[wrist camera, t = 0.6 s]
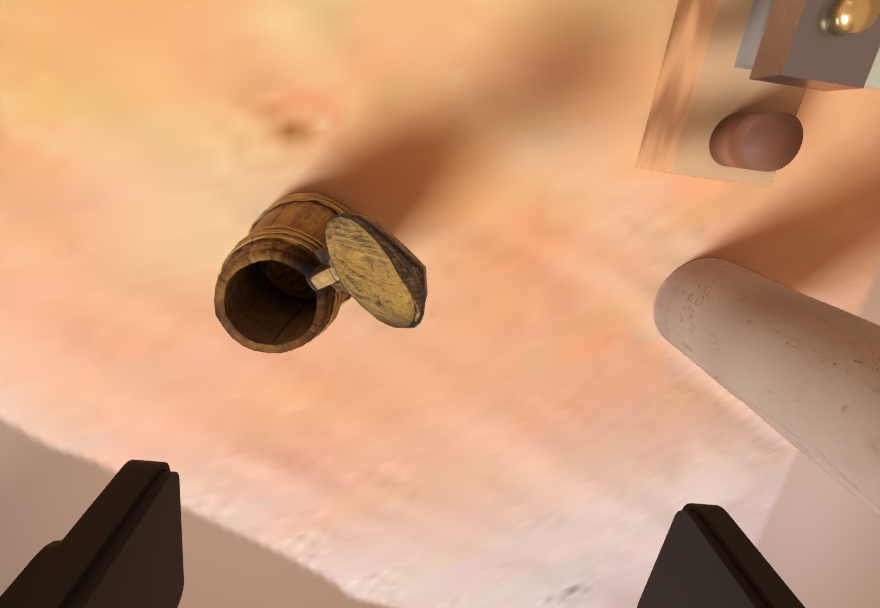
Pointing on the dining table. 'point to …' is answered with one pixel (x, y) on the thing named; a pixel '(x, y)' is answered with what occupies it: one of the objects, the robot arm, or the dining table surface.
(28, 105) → the dining table surface
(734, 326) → the thermos bottle
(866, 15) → the lever cap
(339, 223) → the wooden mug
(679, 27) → the body
